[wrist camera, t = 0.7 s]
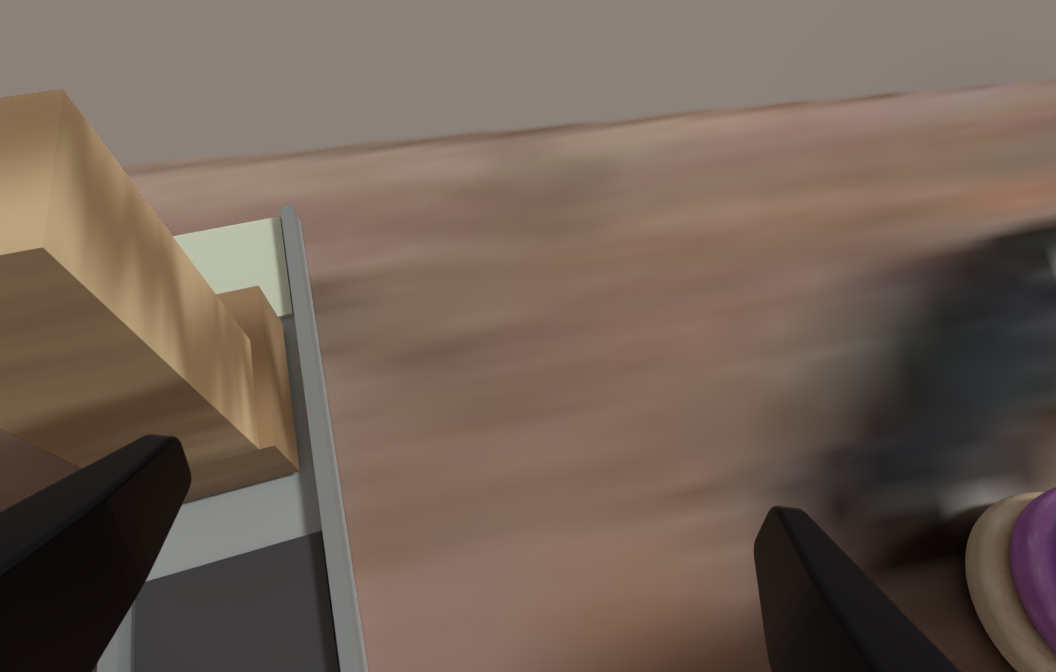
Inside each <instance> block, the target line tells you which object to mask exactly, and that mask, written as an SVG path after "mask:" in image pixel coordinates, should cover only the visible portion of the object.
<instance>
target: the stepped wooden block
mask: <svg viewBox="0 0 1056 672" xmlns="http://www.w3.org/2000/svg"><path fill="white" fill-rule="evenodd" d="M0 429H1V430H3V431H5V432H7V433H9V434H11V435H13V436H16V437H18V438H20V439H22V440H24V441H26V442H28V443H30V444H32V445H34V446H36V447H38V448H40V449H42V450H44V451H46V452H48V453H50V454H53V455H55V456H57V457H59V458H61V459H63V460H65V461H67V462H69V463H71V464H73V465H75V466H77V467H79V468H81V469H82V468H84V467H86V466H88V465H90V464H92V463H93V462H95V461H97V460H99V459H101V458H103V457H105V456H107V455H108V454H110V453H112V452H114V451H116V450H118V449H120V448H122V447H123V446H125V445H127V444H129V443H131V442H133V441H135V440H137V439H138V438H140V437H142V436H145V435H147V434H161V435H170V436H175V437H177V438H178V439H179V440H180V441H181V443H182V446H183V449H184V452H185V455H186V458H187V461H188V464H189V467H190V470H191V475H192V480H191V485H190V489H189V491H188V493H187V495H186V498H185V500H184V502H188V501H191V500H195V499H199V498H202V497H206V496H210V495H214V494H217V493H221V492H225V491H228V490H232V489H236V488H240V487H243V486H247V485H251V484H254V483H258V482H262V481H266V480H269V479H273V478H277V477H280V476H284V475H288V474H292V473H295V472H299V471H300V469H299V460H298V452H297V443H296V435H295V426H294V418H293V409H292V401H291V392H290V384H289V375H288V367H287V358H286V350H285V341H284V333H283V324H282V322H281V321H280V319H279V318H278V316H277V314H276V313H275V311H274V309H273V308H272V306H271V305H270V303H269V301H268V300H267V298H266V297H265V295H264V293H263V292H262V290H261V288H260V287H259V285H258V286H254V287H249V288H244V289H239V290H234V291H230V292H225V293H220V294H215V292H214V291H213V290H212V288H211V287H210V286H209V284H208V283H207V282H206V280H205V279H204V278H203V276H202V275H201V274H200V272H199V271H198V270H197V268H196V267H195V266H194V264H193V263H192V262H191V260H190V259H189V258H188V256H187V255H186V254H185V252H184V251H183V249H182V248H181V247H180V245H179V244H178V243H177V241H176V240H175V239H174V237H173V236H172V235H171V233H170V232H169V231H168V229H167V228H166V227H165V225H164V224H163V223H162V221H161V220H160V219H159V217H158V216H157V215H156V213H155V212H154V211H153V209H152V208H151V207H150V205H149V204H148V203H147V201H146V200H145V198H144V197H143V196H142V194H141V193H140V192H139V190H138V189H137V188H136V186H135V185H134V184H133V182H132V181H131V180H130V178H129V177H128V176H127V174H126V173H125V172H124V170H123V169H122V168H121V166H120V165H119V164H118V162H117V161H116V160H115V158H114V157H113V156H112V154H111V153H110V152H109V150H108V149H107V148H106V146H105V145H104V143H103V142H102V141H101V139H100V138H99V137H98V135H97V134H96V133H95V131H93V129H92V127H91V126H90V125H89V123H88V122H87V121H86V119H85V118H84V117H83V115H82V114H81V113H80V111H79V110H78V109H77V107H76V106H75V105H74V103H73V102H72V101H71V99H70V98H69V97H68V95H67V94H66V93H65V91H64V90H63V89H61V90H54V91H46V92H39V93H32V94H25V95H17V96H10V97H3V98H0ZM184 502H183V503H184Z"/></svg>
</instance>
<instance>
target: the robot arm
mask: <svg viewBox="0 0 1056 672" xmlns="http://www.w3.org/2000/svg"><path fill="white" fill-rule="evenodd" d="M191 480H192V475H191V470H190V467H189V464H188V461H187V458H186V455H185V452H184V449H183V446H182V443H181V441H180V440H179V439H178V438H177V437H175V436H170V435H161V434H147V435H145V436H142V437H140V438H138V439H137V440H135V441H133V442H131V443H129V444H127V445H125V446H123V447H122V448H120V449H118V450H116V451H114V452H112V453H110V454H108V455H107V456H105V457H103V458H101V459H99V460H97V461H95V462H93V463H92V464H90V465H88V466H86V467H84V468H82V469H80V470H78V471H77V472H75V473H73V474H71V475H69V476H67V477H65V478H63V479H62V480H60V481H58V482H56V483H54V484H52V485H50V486H48V487H47V488H45V489H43V490H41V491H39V492H37V493H35V494H33V495H32V496H30V497H28V498H26V499H24V500H22V501H20V502H18V503H17V504H15V505H13V506H11V507H9V508H7V509H5V510H3V511H2V512H0V672H92V671H93V669H94V668H95V666H96V664H97V663H98V661H99V659H100V658H101V656H102V654H103V653H104V651H105V649H106V648H107V646H108V644H109V643H110V641H111V639H112V638H113V636H114V634H115V633H116V631H117V629H118V628H119V626H120V624H121V623H122V621H123V619H124V618H125V616H126V614H127V613H128V611H129V609H130V608H131V606H132V604H133V603H134V601H135V599H136V598H137V596H138V594H139V592H140V591H141V589H142V587H143V585H144V584H145V582H146V580H147V578H148V576H149V574H150V572H151V570H152V568H153V566H154V564H155V562H156V559H157V557H158V555H159V553H160V551H161V549H162V547H163V544H164V542H165V540H166V538H167V536H168V534H169V532H170V530H171V527H172V525H173V523H174V521H175V519H176V517H177V515H178V513H179V510H180V508H181V506H182V504H183V502H184V500H185V498H186V495H187V493H188V491H189V489H190V485H191ZM754 560H755V567H756V575H757V582H758V589H759V597H760V604H761V611H762V619H763V626H764V633H765V641H766V647H767V653H768V658H769V663H770V668H771V672H961V671H960V670H959V669H958V668H957V667H956V666H955V665H954V664H953V663H952V662H951V661H950V660H949V659H948V658H947V657H946V656H945V655H944V654H943V653H942V652H941V651H940V650H939V649H938V648H937V647H936V646H935V645H934V644H933V643H932V642H931V641H930V640H929V639H928V638H927V637H926V635H925V634H924V633H923V632H922V631H921V630H920V629H919V628H918V627H917V626H916V625H915V624H914V623H913V622H912V621H911V620H910V619H909V618H908V617H907V616H906V615H905V614H904V613H903V612H902V611H901V610H900V609H899V608H898V607H897V606H896V605H895V604H894V603H893V602H892V601H891V600H890V599H889V598H888V597H887V596H886V594H885V593H884V592H883V591H882V590H881V589H880V588H879V587H878V586H877V585H876V584H875V583H874V582H873V581H872V580H871V579H870V578H869V577H868V576H867V575H866V574H865V573H864V572H863V571H862V570H861V569H860V568H859V567H858V566H857V565H856V564H855V563H854V562H853V561H852V560H851V559H850V558H849V557H848V556H847V555H846V553H845V552H844V551H843V550H842V549H841V548H840V547H839V546H838V545H837V544H836V543H835V542H834V541H833V540H832V539H831V538H830V537H829V536H828V535H827V534H826V533H825V532H824V531H823V530H822V529H821V528H820V527H819V526H818V525H817V524H816V523H815V522H814V521H813V520H812V519H811V518H810V517H809V516H808V515H807V514H806V513H805V512H804V511H803V510H801V509H799V508H793V507H784V506H774V507H772V508H771V509H770V510H769V512H768V514H767V516H766V518H765V520H764V522H763V524H762V526H761V528H760V531H759V533H758V535H757V537H756V539H755V543H754Z"/></svg>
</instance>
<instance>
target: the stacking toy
mask: <svg viewBox="0 0 1056 672" xmlns="http://www.w3.org/2000/svg"><path fill="white" fill-rule="evenodd" d="M965 568H966V579H967V584H968V588H969V592H970V596H971V599H972V602H973V605H974V607H975V610H976V612H977V615H978V617H979V619H980V621H981V623H982V625H983V627H984V628H985V630H986V632H987V634H988V635H989V637H990V639H991V640H992V642H993V643H994V645H995V646H996V647H997V649H998V650H999V651H1000V653H1001V654H1002V655H1003V657H1004V658H1005V659H1006V660H1007V661H1008V662H1009V664H1010V665H1011V666H1012V667H1013V668H1014V669H1015V670H1016V671H1017V672H1056V488H1053V489H1051V490H1048V491H1046V492H1031V493H1022V494H1017V495H1013V496H1010V497H1008V498H1005V499H1003V500H1000V501H998V502H997V503H995V504H993V505H992V506H990V507H989V508H988V509H987V510H986V511H985V512H984V513H983V514H982V515H981V516H980V517H979V518H978V520H977V521H976V523H975V524H974V526H973V528H972V530H971V532H970V535H969V538H968V542H967V547H966V555H965Z"/></svg>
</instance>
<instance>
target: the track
mask: <svg viewBox="0 0 1056 672" xmlns="http://www.w3.org/2000/svg"><path fill="white" fill-rule="evenodd" d="M280 209H281V217H282V219H281V217H280V216H279V217H274V218H268V219H263V220H258V221H252V222H247V223H242V224H236V225H231V226H226V227H220V228H215V229H210V230H204V231H199V232H194V233H188V234H183V235H178V236H173V237H174V239H175V240H176V241H177V243H178V244H179V245H180V247H181V248H182V249H183V251H184V252H185V254H186V255H187V256H188V258H189V259H190V260H191V262H192V263H193V264H194V266H195V267H196V268H197V270H198V271H199V272H200V274H201V275H202V276H203V278H204V279H205V280H206V282H207V283H208V284H209V286H210V287H211V288H212V290H213V291H214V292H215V294H220V293H225V292H230V291H234V290H239V289H244V288H249V287H254V286H258V285H259V287H260V288H261V290H262V292H263V293H264V295H265V297H266V298H267V300H268V301H269V303H270V305H271V306H272V308H273V309H274V311H275V313H276V314H277V316H278V318H279V319H280V321H281V322H282V324H283V333H284V341H285V350H286V358H287V367H288V375H289V384H290V392H291V401H292V409H293V418H294V426H295V435H296V443H297V452H298V460H299V469H300V471H299V472H295V473H292V474H288V475H284V476H280V477H277V478H273V479H269V480H266V481H262V482H258V483H254V484H251V485H247V486H243V487H240V488H236V489H232V490H228V491H225V492H221V493H217V494H214V495H210V496H206V497H202V498H199V499H195V500H191V501H188V502H184V503H183V504H182V506H181V508H180V510H179V513H178V515H177V517H176V519H175V521H174V523H173V525H172V527H171V530H170V532H169V534H168V536H167V538H166V540H165V542H164V544H163V547H162V549H161V551H160V553H159V555H158V557H157V559H156V562H155V564H154V566H153V568H152V570H151V572H150V574H149V576H148V578H147V580H146V582H145V584H144V585H143V587H142V589H141V591H140V592H139V594H138V596H137V598H136V599H135V601H134V603H133V604H132V606H131V608H130V609H129V611H128V613H127V614H126V616H125V618H124V619H123V621H122V623H121V624H120V626H119V628H118V629H117V631H116V633H115V634H114V636H113V638H112V639H111V641H110V643H109V644H108V646H107V648H106V649H105V651H104V653H103V654H102V656H101V658H100V659H99V661H98V663H97V672H368V666H367V659H366V653H365V646H364V640H363V633H362V626H361V620H360V613H359V606H358V600H357V593H356V586H355V580H354V573H353V566H352V560H351V553H350V547H349V540H348V533H347V527H346V520H345V513H344V507H343V500H342V493H341V487H340V480H339V473H338V467H337V460H336V453H335V447H334V440H333V434H332V427H331V420H330V414H329V407H328V400H327V394H326V387H325V380H324V374H323V367H322V360H321V354H320V347H319V341H318V334H317V327H316V321H315V314H314V307H313V301H312V294H311V287H310V281H309V274H308V267H307V261H306V254H305V248H304V241H303V234H302V228H301V223H300V221H299V218H298V216H297V214H296V211H295V209H294V207H293V205H290V206H284V207H280Z"/></svg>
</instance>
